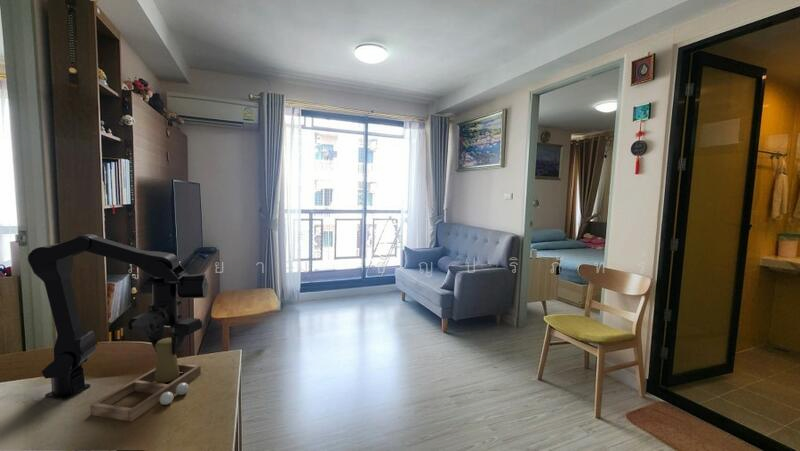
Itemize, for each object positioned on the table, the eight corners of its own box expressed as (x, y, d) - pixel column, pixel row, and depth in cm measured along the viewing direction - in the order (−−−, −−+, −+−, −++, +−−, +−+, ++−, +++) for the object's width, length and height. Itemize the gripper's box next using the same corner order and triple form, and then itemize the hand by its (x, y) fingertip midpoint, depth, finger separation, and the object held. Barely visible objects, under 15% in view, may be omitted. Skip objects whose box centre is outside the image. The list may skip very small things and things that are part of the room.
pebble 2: (172, 396, 91) (172, 385, 90) (181, 390, 94) (181, 379, 93) (182, 397, 90) (182, 387, 90) (191, 391, 93) (191, 381, 93)
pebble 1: (156, 406, 86) (156, 395, 86) (166, 399, 89) (166, 388, 89) (167, 408, 86) (166, 396, 86) (176, 401, 89) (176, 390, 89)
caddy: (90, 414, 82) (90, 404, 82) (166, 369, 104) (166, 361, 104) (131, 421, 81) (131, 411, 80) (200, 373, 102) (200, 365, 102)
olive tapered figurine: (166, 384, 94) (165, 345, 93) (148, 381, 95) (147, 342, 94) (184, 373, 100) (184, 336, 99) (167, 370, 101) (166, 334, 100)
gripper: (107, 305, 89) (110, 362, 90) (170, 311, 86) (172, 371, 87) (146, 293, 100) (147, 344, 101) (203, 298, 97) (203, 351, 98)
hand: (166, 353), depth 97 cm, fingers closed on olive tapered figurine, 5 cm apart
